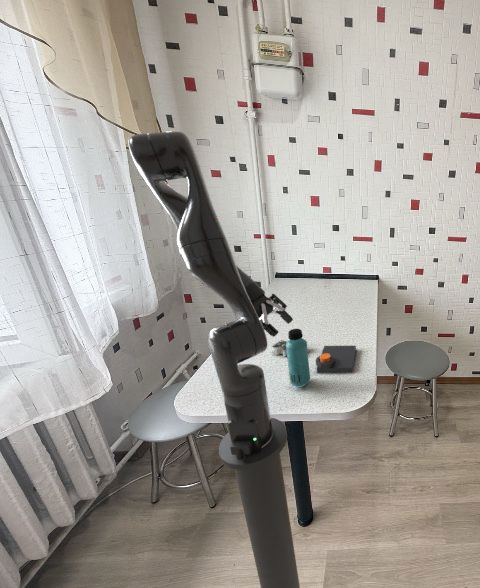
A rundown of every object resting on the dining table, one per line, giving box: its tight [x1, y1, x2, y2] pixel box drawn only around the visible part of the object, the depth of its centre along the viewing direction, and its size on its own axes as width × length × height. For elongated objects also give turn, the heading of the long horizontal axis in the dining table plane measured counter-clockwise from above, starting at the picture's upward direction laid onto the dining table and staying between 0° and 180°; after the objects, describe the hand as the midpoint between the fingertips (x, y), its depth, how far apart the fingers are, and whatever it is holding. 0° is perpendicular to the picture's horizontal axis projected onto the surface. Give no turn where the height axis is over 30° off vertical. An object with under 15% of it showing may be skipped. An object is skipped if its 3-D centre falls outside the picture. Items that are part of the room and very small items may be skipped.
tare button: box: [319, 353, 331, 363], centre depth 116 cm, size 4×4×2 cm
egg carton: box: [271, 339, 289, 358], centre depth 125 cm, size 11×8×4 cm
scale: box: [315, 345, 357, 374], centre depth 121 cm, size 15×13×4 cm
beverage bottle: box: [286, 328, 311, 387], centre depth 104 cm, size 6×7×20 cm
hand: (283, 328), depth 101 cm, fingers open, 8 cm apart
